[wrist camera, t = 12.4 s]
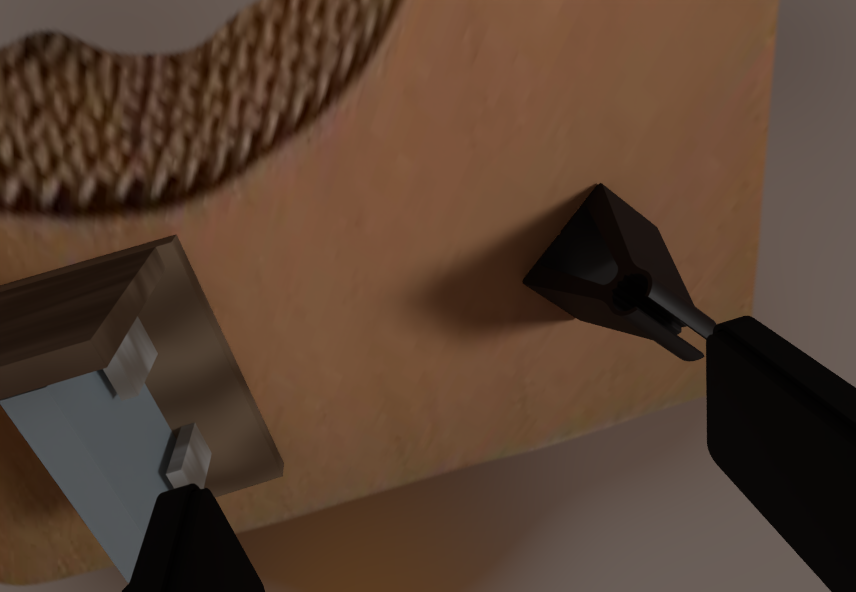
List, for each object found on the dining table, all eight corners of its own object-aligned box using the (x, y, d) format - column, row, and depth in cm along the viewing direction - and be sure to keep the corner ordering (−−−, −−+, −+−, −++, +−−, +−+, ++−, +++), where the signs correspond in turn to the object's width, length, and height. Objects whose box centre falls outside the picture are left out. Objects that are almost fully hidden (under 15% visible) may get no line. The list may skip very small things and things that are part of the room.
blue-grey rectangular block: (53, 323, 37) (-18, 406, 29) (103, 309, 37) (46, 387, 29) (151, 482, 43) (114, 587, 35) (193, 469, 44) (166, 570, 36)
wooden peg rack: (-42, 297, 37) (-212, 430, 25) (176, 234, 38) (112, 333, 26) (110, 517, 46) (38, 693, 34) (283, 463, 47) (274, 615, 35)
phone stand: (577, 318, 46) (657, 407, 35) (520, 280, 44) (588, 364, 33) (654, 225, 44) (765, 291, 33) (599, 181, 42) (700, 236, 31)
